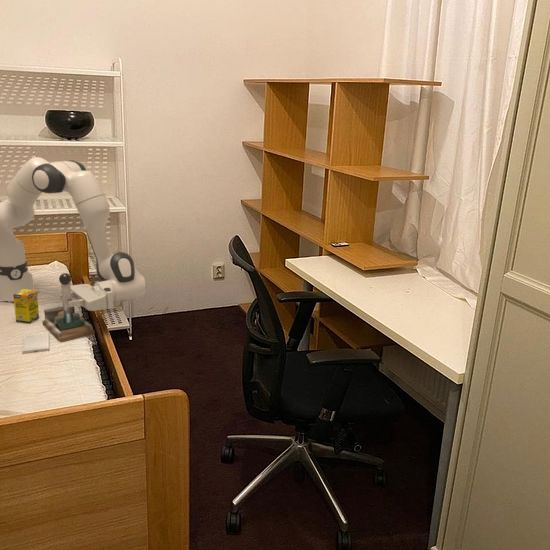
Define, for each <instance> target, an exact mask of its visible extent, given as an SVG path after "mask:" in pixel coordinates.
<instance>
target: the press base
mask: <svg viewBox="0 0 550 550" xmlns="http://www.w3.org/2000/svg"><path fill="white" fill-rule="evenodd" d="M75 307H76V306H73V307H72V310H73V313H76V309H75ZM43 313H44V320H42V326H43V327H45V328H46V330H47V331H49V333H50V334H51V335H52V336H53V337H54V338H55V339H56V340H57V341H58V342H59V343H63V342H68V341H73V340H77V339H81V338H85V337H86V338H87V337H90V336H94V335H95V334H96V333H95V332H96V331H95V329H94V328H93V327H94V326H93V325H92V324H90V323H89V322H88V321H87V320H86V319H85V318H83V317H82V316H81V315H80V319H81V320H82V326H78V327H73V328H69V329H64V330H59V329H58V328H56V327H55V322H54V317H57V316H62V315H64V312H63V305H62V306H57V307H51V308H47V309H46V308H45V309H44V310H43Z"/></svg>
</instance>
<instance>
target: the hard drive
mask: <svg viewBox="0 0 550 550" xmlns="http://www.w3.org/2000/svg"><path fill="white" fill-rule="evenodd" d="M50 343H51V342H50V334H49V333H41V334H40V333H39V334H34V335H24V336H23V341H22V355H27V354H35V353H42V352H43V353H45V352H50V351H51V350H50V348H51V347H50V346H51V345H50Z"/></svg>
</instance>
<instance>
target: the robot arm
mask: <svg viewBox="0 0 550 550" xmlns="http://www.w3.org/2000/svg"><path fill="white" fill-rule="evenodd" d="M5 191H6V194H7V198H6V199H5V200H2V201H0V300H1V301H0V302H4V301H8V303H9V302H14V297H13V294H14V293H17V292H19V291H21V290H22V289H27V290H36V291H37V292H38V293H40V291H39V289H38V288H35V285H34V279H33V274H32V273H31V272H29V269H28V268H29V267H28V266H29V265H28V261H27V260H26V253H25V252H26V251H25V245H24V242H23V241H22V240H20V239H19V238H16V236H15V235H14V231H13V229H16V228H19V227H23V226H25V225H27V224H28V223H30V222H31V221H33V219H34V217H35V209H34V204H35V203H36V201H37V200H38V199H39V197H40V196H41V194H42V193H44V194H59V193H60V194H61V193H64V192H66V193H68V194H69V195H70V196H71V197H72V200H73V202H74V205H75V207H76V209H77V212H78V214H79V216H80V219H81V220H82V223H83V226H84V229H85V232H86V235H87V238H88V241H89V243H90V244H89V245H90V246H91V249H92V251H93V255H94V258H95V262H96V263H95V264H96V266H95V267H96V269H95V270H96V275H97V277H98V278H99V280H100V281H97V282H94V284H93V285H91V284H88V283H80V284H73V285H70V287H71V298H72V300H71V301H68V306H69V307H73V306H74V307H83V308H85V309H86V311H91V312H94V311H99V310H105V309H107V310H112V309H114V304H116V303H118V302H124V303H125V302H130V301H133V300H136V299H140V298H141V297H143V296H144V294H145V292H146V289H147V281H146V278H145V276H143V275H142V274H141V273H140V272H139V271H138V269H137V268H136V265H135V263H134V262H135V261H134V260H133V258H132V256H130V254H129V253H127V252H121V251H119V252H116V253H113V252H112V250H111V247H110V243H109V241H108V239H107V235H106V226H107V223H108V219H109V218H110V214H111V211H110V210H111V208H110V205H109V201H108V199H107V197H106V194H105V192H104V190H103V188H102V186H101V185H100V182H99V181H98V180H97V178H96V177H95V175H94V173H92V172H91V171H88V170H87V169H86V167H85V166H84V165H83V163H81V162H79V161H75V160H60V161H59V160H58V161H53V162H49V161H48V160H46V159H45V158H42V157H40V156H39V157H38V156H35V157H31V158H29V160H27V162H25V163H24V164H23V165H22V166H21V168H20V169H19V170H18V171H17V172H16V174H15V175H14V176H13V178H12V179H11V181H10V182H9V184H8V185H7V187H6V189H5ZM59 299H60V300H62V294H60V295H59Z"/></svg>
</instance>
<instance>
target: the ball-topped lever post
mask: <svg viewBox="0 0 550 550" xmlns="http://www.w3.org/2000/svg"><path fill="white" fill-rule="evenodd" d="M71 281H72V276H71V275H70V274H69V273H66V272H65V273H64V272H63V273H61V274H60V275H59V277H58V282H59V283H60V288H61V295H62V301H61V302H62V306H63V312H64V315H62V316H57V317H54V322H55V327H56V328H58V329H59V330H64V329H69V328H73V327H78V326H82V320H81V319H80V316H81V313H79V312H78V311H77V312H75V313H73V310H72V307H69V306H68V301H71V300H73V298H71V287H70V286H71V283H72V282H71Z"/></svg>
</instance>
